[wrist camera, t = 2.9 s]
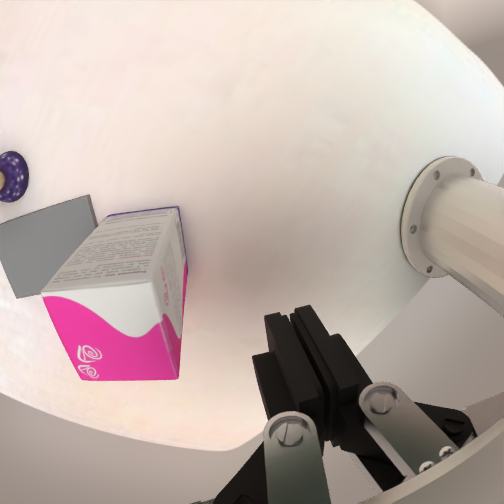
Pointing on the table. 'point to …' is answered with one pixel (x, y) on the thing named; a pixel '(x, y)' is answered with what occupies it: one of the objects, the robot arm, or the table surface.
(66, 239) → the mat
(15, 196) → the toy lamp
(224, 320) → the table surface
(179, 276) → the supplement box
